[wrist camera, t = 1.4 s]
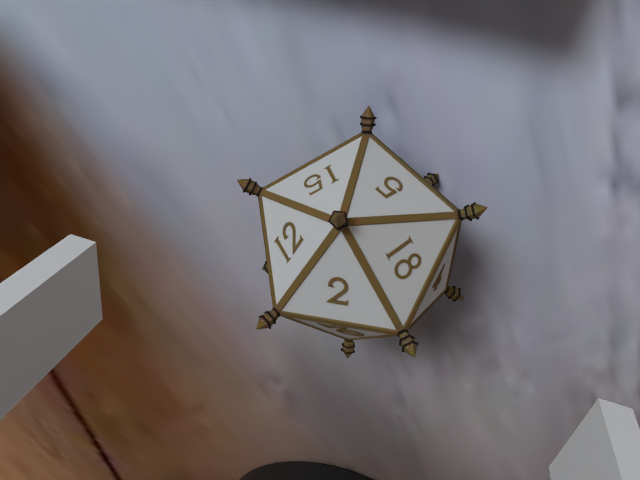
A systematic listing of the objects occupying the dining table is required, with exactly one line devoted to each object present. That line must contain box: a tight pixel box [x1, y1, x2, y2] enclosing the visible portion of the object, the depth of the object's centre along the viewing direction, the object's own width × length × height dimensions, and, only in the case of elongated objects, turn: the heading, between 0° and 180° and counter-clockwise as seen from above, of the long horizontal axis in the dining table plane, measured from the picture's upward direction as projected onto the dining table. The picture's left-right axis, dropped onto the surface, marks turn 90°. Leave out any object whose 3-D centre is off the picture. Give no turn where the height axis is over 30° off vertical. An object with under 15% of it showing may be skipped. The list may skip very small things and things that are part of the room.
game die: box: [237, 106, 488, 358], centre depth 18 cm, size 9×8×10 cm
